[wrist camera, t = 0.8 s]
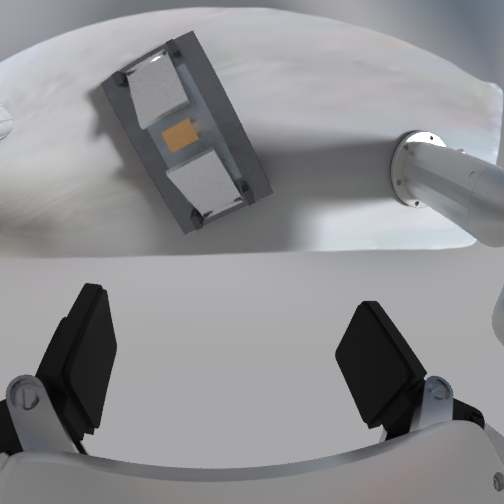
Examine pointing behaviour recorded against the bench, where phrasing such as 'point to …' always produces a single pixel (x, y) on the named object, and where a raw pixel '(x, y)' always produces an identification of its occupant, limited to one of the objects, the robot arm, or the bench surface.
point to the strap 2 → (205, 183)
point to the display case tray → (190, 131)
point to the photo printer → (5, 121)
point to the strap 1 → (155, 88)
